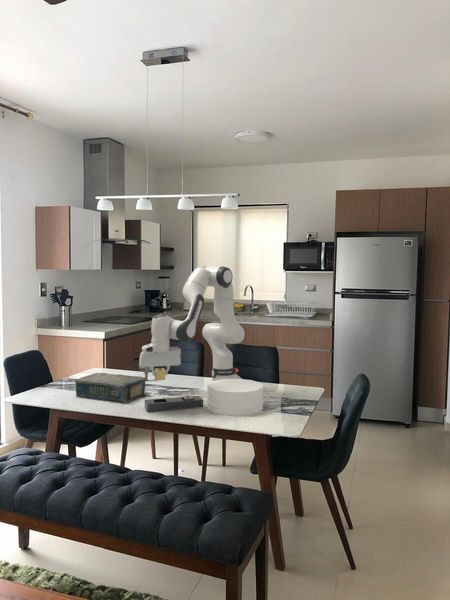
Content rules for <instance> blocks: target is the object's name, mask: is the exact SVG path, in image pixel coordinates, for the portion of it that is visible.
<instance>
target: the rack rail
mask: <svg viewBox="0 0 450 600" xmlns="http://www.w3.org/2000/svg"><path fill="white" fill-rule="evenodd" d="M191 396H192V397H193V400H185V401H183V400H182V396H178V397H176V396H175V397H163V398H152V399H151V398H150V399H144V409H145V411H146V412H147V413H152V412H153V413H154V412H164V411H165V412H167V411H175V410H176V411H177V410H188V409H191V410H192V409H202V408H204V398H202V397H201V396H200V395H191Z"/></svg>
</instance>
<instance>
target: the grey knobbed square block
mask: <svg viewBox="0 0 450 600" xmlns="http://www.w3.org/2000/svg"><path fill="white" fill-rule="evenodd" d="M192 396H193V395H182V396H181V397H182V400H183V401H185V400H193V397H192Z"/></svg>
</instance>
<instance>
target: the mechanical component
mask: <svg viewBox="0 0 450 600" xmlns="http://www.w3.org/2000/svg"><path fill="white" fill-rule="evenodd" d="M155 367H156V366H154V369H153V370H154V371H155ZM137 368H138V369H139V371H140V372H143V373H144V377H145V378H146V381H145V382H148V380H149V372H152V370H151V369H150V367H141V366H140V365H137Z"/></svg>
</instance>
